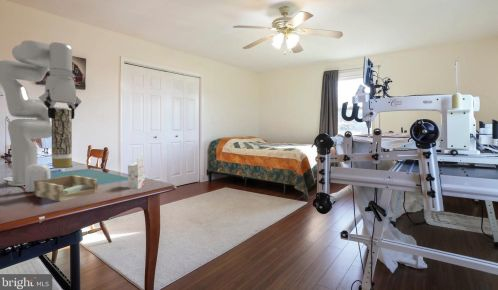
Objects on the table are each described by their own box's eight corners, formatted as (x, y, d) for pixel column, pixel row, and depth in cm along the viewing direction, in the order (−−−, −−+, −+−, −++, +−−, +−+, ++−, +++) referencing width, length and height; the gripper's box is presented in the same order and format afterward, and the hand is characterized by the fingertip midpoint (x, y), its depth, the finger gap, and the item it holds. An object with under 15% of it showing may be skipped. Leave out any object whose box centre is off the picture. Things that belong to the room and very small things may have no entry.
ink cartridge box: (135, 185, 133) (135, 156, 132) (144, 185, 133) (145, 157, 132) (127, 189, 125) (127, 158, 124) (137, 189, 125) (137, 159, 124)
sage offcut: (60, 194, 103) (60, 190, 103) (79, 188, 113) (79, 184, 113) (67, 194, 103) (67, 190, 103) (86, 188, 113) (86, 184, 113)
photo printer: (52, 191, 116) (52, 164, 115) (43, 194, 111) (43, 165, 110) (33, 190, 117) (32, 162, 116) (23, 192, 113) (22, 164, 112)
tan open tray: (34, 198, 106) (34, 181, 105) (73, 189, 120) (72, 174, 119) (60, 204, 99) (59, 186, 99) (97, 194, 114) (97, 179, 113)
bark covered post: (61, 169, 106) (61, 107, 104) (47, 167, 107) (46, 106, 105) (75, 166, 113) (75, 108, 111) (62, 165, 114) (62, 108, 112)
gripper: (76, 78, 116) (76, 118, 118) (31, 70, 100) (32, 117, 102) (87, 78, 113) (87, 119, 115) (43, 70, 97) (43, 118, 99)
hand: (61, 118), depth 108 cm, fingers closed on bark covered post, 6 cm apart
